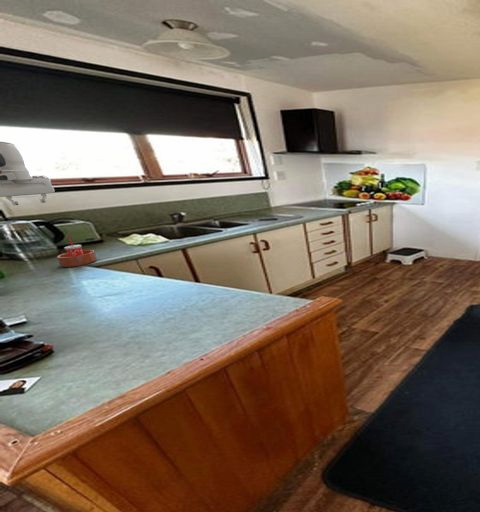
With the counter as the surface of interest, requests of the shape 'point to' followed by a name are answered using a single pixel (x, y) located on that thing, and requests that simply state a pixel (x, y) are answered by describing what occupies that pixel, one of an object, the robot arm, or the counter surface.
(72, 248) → the beverage cup
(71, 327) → the counter surface
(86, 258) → the bowl
